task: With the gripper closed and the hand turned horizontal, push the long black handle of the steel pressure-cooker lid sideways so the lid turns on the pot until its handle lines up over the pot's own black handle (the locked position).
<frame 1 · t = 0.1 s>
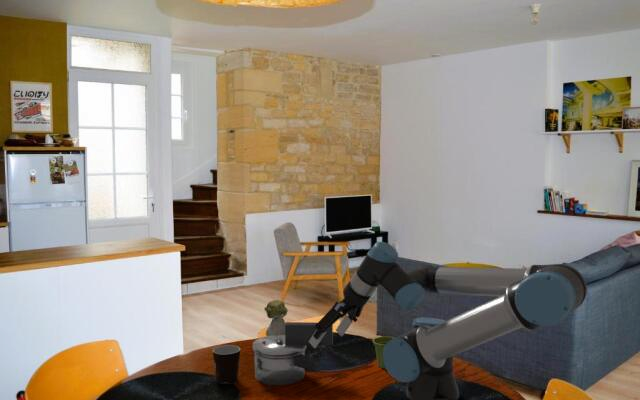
hand: (326, 338, 177), 15 cm above the table, tool tilted 35°, fingers open, 13 cm apart
pot: (279, 375, 189), on the table
green sculpted bust: (275, 351, 213), on the table
plant pot: (386, 366, 197), on the table
coffee mug: (228, 379, 186), on the table
lid: (292, 335, 188), point 13 cm above the table, hinge at 40.0°
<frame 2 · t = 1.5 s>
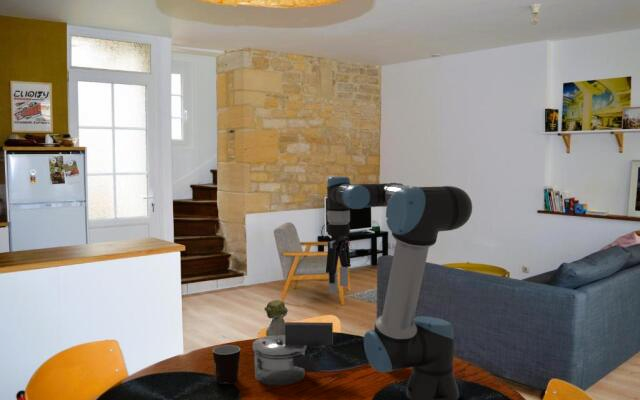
hand: (338, 289, 197), 26 cm above the table, tool pointing down, fingers open, 10 cm apart
nothing on the table moved.
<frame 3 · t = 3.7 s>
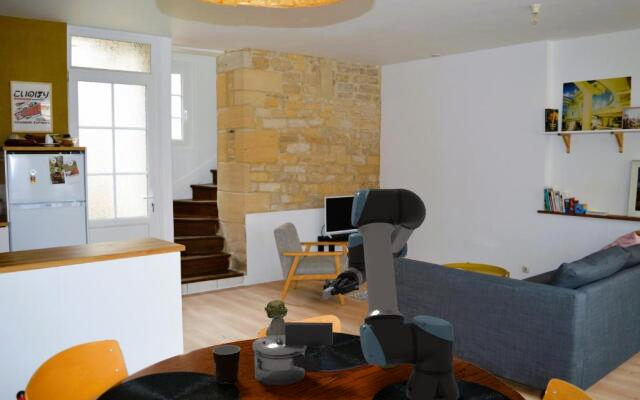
hand: (325, 295, 191), 25 cm above the table, tool horizontal, fingers closed
nothing on the table moved.
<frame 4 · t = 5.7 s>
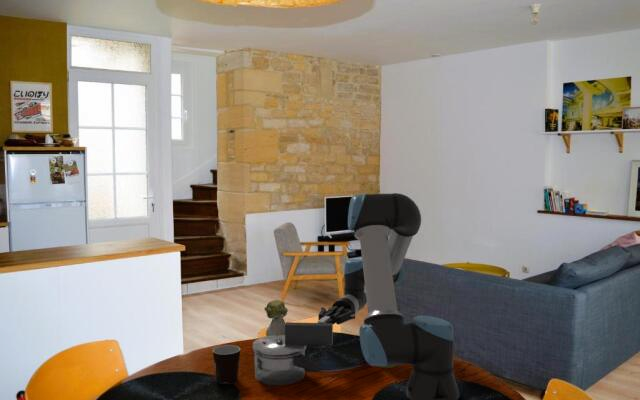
hand: (320, 325, 189), 16 cm above the table, tool horizontal, fingers closed
lid: (292, 335, 188), point 13 cm above the table, hinge at 37.8°, touching gripper
everything else where it was.
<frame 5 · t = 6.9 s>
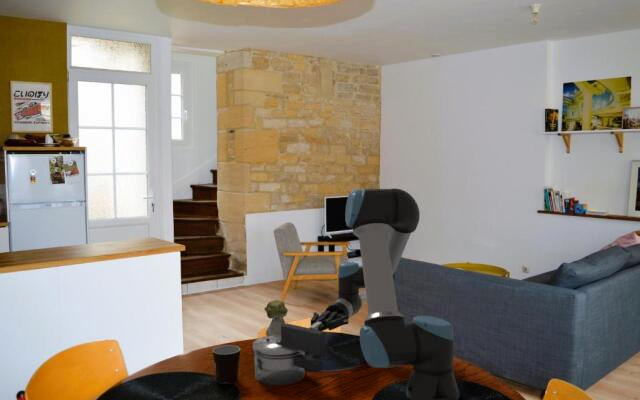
hand: (311, 331, 183), 16 cm above the table, tool horizontal, fingers closed
lid: (289, 337, 185), point 13 cm above the table, hinge at 6.2°, touching gripper
everything else where it was.
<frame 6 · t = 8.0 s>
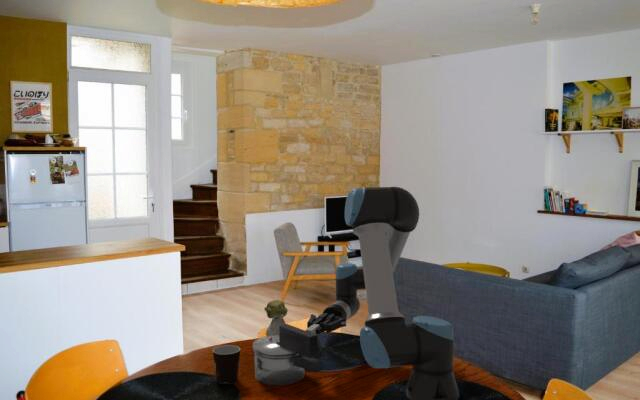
hand: (308, 334, 180), 16 cm above the table, tool horizontal, fingers closed
lid: (287, 338, 185), point 13 cm above the table, hinge at -7.0°, touching gripper
everything else where it was.
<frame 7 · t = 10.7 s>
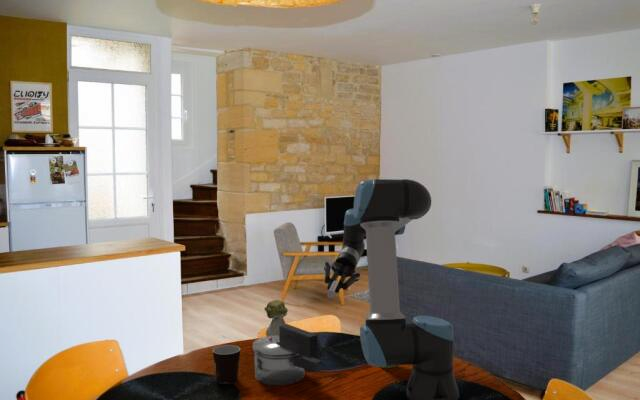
hand: (330, 294, 187), 26 cm above the table, tool tilted 75°, fingers closed
lid: (287, 338, 185), point 13 cm above the table, hinge at -7.0°
everything else where it was.
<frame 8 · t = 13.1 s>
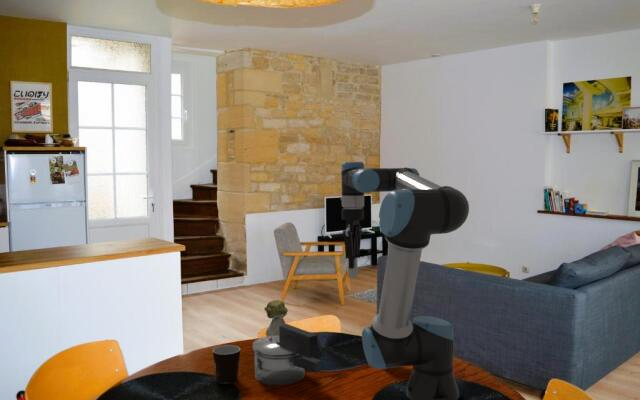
hand: (352, 277, 198), 29 cm above the table, tool pointing down, fingers closed
nothing on the table moved.
at the end: lid at -7° (first picture: +40°) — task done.
